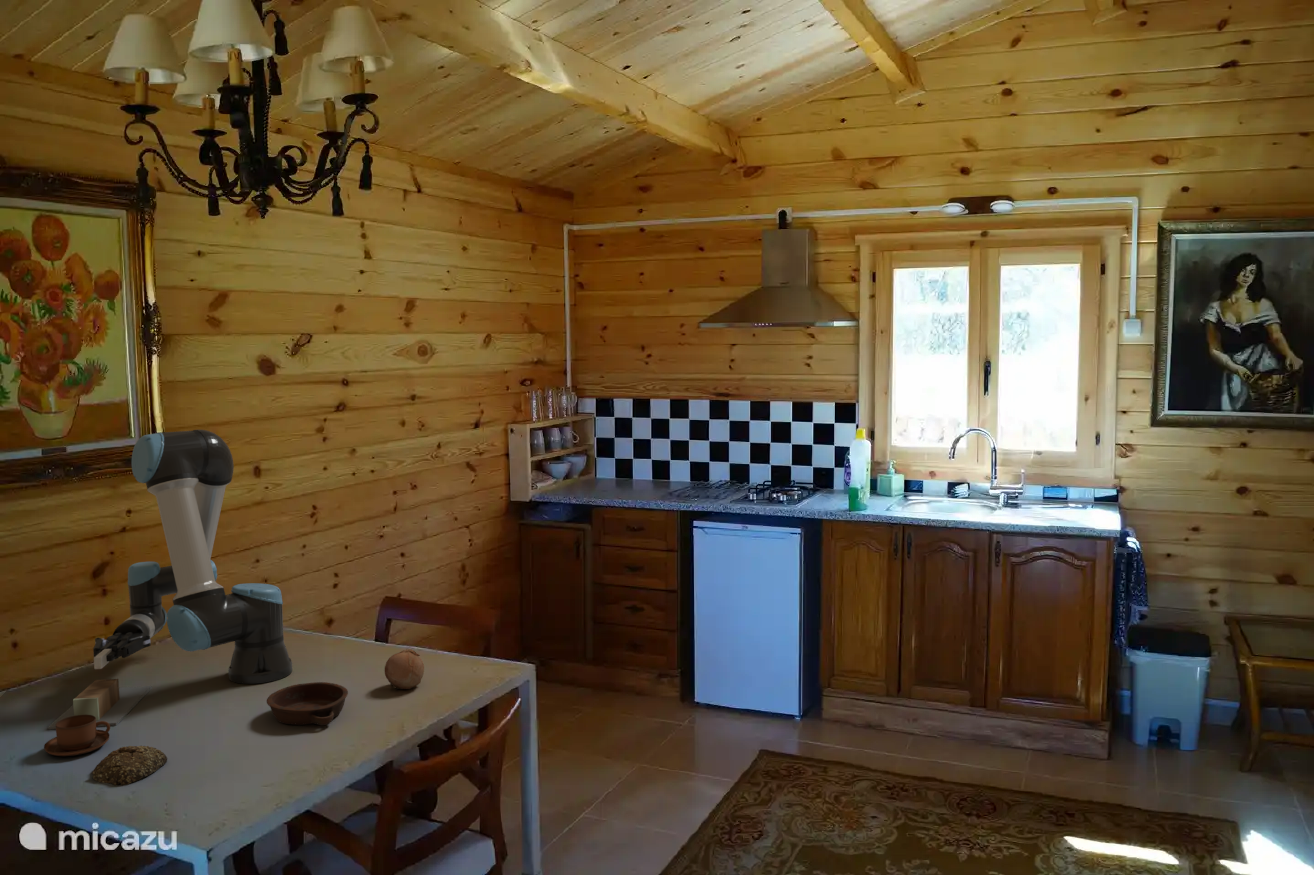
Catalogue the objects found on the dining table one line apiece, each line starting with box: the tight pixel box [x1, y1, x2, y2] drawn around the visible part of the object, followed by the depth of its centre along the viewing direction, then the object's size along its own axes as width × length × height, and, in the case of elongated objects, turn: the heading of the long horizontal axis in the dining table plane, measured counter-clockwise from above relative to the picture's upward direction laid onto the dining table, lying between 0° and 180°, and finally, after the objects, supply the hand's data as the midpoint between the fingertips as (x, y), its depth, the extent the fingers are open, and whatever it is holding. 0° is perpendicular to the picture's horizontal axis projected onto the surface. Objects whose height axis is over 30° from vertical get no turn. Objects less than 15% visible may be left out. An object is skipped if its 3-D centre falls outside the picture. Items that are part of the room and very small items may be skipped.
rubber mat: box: [47, 685, 153, 730], centre depth 237 cm, size 14×24×1 cm, turn 9°
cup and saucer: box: [43, 715, 111, 757], centre depth 214 cm, size 12×12×6 cm
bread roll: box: [91, 745, 168, 786], centre depth 203 cm, size 13×12×5 cm
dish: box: [266, 681, 349, 726], centre depth 232 cm, size 18×22×5 cm
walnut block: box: [72, 678, 120, 720], centre depth 234 cm, size 5×5×13 cm
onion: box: [384, 648, 425, 691], centre depth 250 cm, size 10×9×10 cm
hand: (97, 663), depth 235 cm, fingers closed
